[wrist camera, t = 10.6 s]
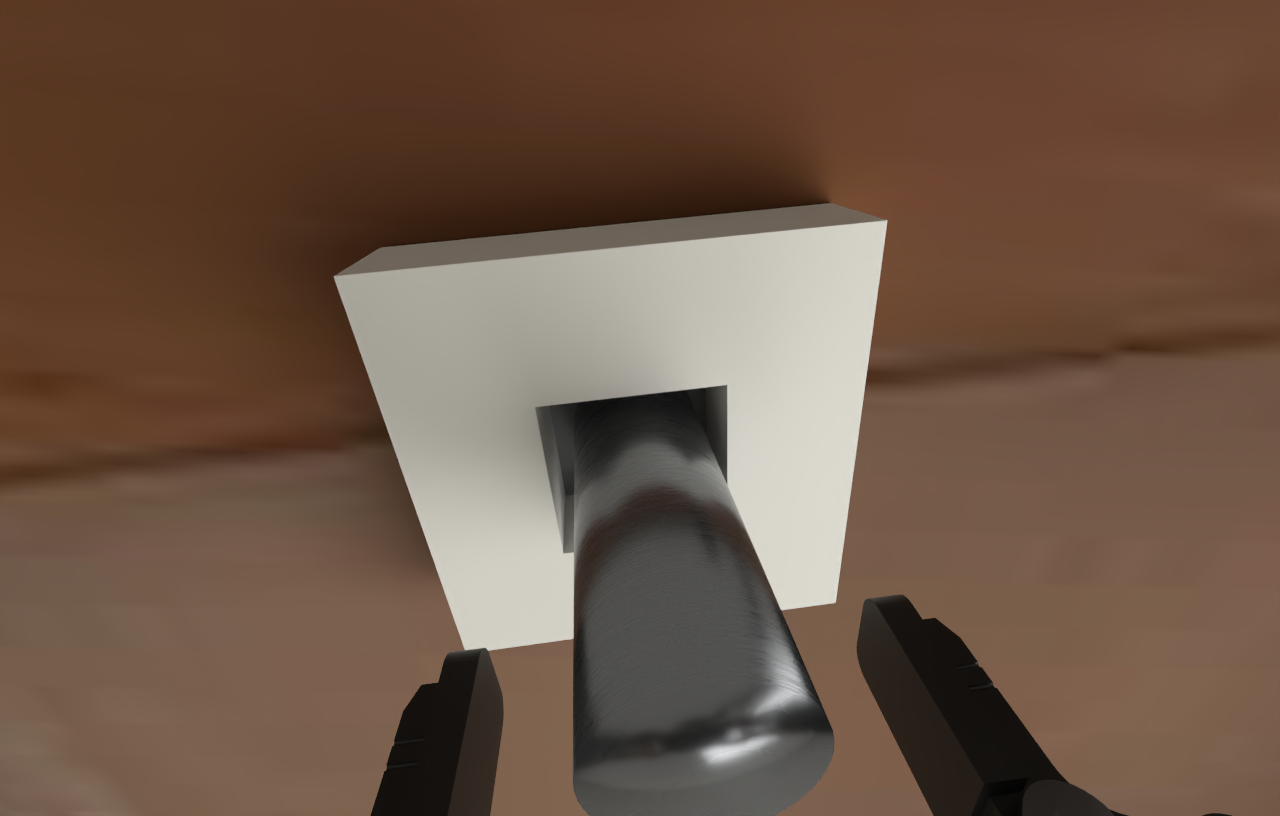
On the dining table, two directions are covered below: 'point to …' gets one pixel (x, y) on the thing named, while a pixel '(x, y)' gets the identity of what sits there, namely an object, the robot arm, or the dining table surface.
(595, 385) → the socket block
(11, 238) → the dining table surface
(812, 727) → the graphite peg
